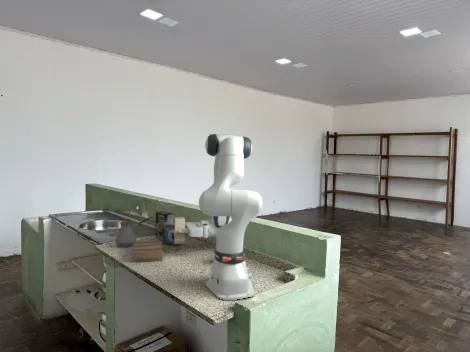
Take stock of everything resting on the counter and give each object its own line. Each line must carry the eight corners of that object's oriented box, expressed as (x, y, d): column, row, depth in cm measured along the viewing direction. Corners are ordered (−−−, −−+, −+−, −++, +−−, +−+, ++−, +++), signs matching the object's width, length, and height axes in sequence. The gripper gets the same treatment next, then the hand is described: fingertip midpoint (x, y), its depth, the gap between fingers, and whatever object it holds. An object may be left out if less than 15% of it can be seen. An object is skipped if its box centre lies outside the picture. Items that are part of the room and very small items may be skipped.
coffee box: (154, 238, 200) (155, 212, 199) (161, 236, 206) (162, 210, 205) (166, 240, 196) (167, 214, 195) (173, 238, 202) (173, 212, 200)
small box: (161, 244, 188) (161, 226, 187) (167, 241, 194) (167, 224, 193) (178, 246, 185) (178, 228, 184) (183, 243, 191) (183, 225, 190)
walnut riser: (162, 260, 160) (162, 250, 159) (132, 262, 156) (132, 252, 156) (160, 249, 179) (160, 240, 178) (134, 250, 175) (134, 241, 175)
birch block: (184, 243, 169) (185, 218, 168) (174, 244, 168) (175, 218, 167) (183, 241, 174) (184, 216, 173) (174, 241, 172) (174, 217, 172)
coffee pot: (117, 249, 176) (118, 221, 175) (112, 243, 186) (112, 217, 185) (156, 244, 188) (156, 218, 187) (149, 239, 198) (149, 214, 197)
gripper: (200, 218, 184) (176, 219, 180) (207, 226, 164) (179, 227, 160) (200, 230, 184) (175, 230, 180) (207, 238, 164) (179, 240, 161)
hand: (177, 229), depth 170 cm, fingers closed on birch block, 5 cm apart
